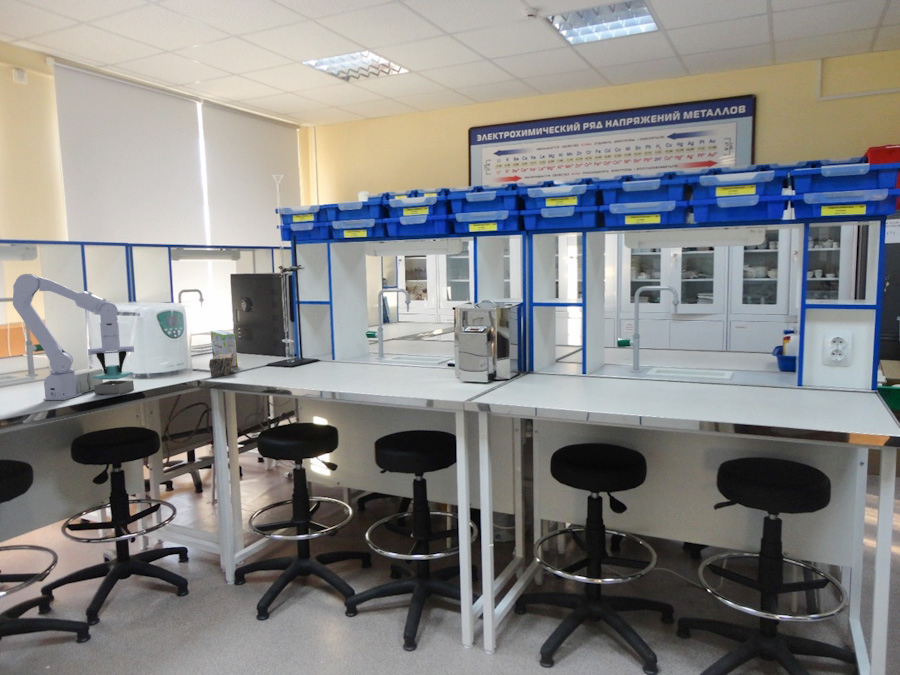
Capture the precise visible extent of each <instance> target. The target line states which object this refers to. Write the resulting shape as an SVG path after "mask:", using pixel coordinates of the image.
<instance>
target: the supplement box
mask: <svg viewBox="0 0 900 675" xmlns="http://www.w3.org/2000/svg"><path fill="white" fill-rule="evenodd" d="M74 371H75V383H76V393H82V394H83V393H88V392H91V391H95V388H94V385H96V384H100V383H103V382H104V380H99V378H93V376H96V375H100V374H103V368H83V369H78V370H74Z"/></svg>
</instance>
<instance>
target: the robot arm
mask: <svg viewBox="0 0 900 675" xmlns="http://www.w3.org/2000/svg"><path fill="white" fill-rule="evenodd" d="M12 288H13V292H12V293H13V295H12V306H13V307H14V310H16V312H17V313H18V315H19V316H20V318H21V320H22V321H23V322H24V324H25V325H26V326H27V328H28V329H29V331H30V332H31V333H32V335H33V336H34V338H35V339H36V341H37V342H38V344H39V345H40V346H41V348H42V349H43V351H44V352H45V355H46V357H47V358H48V360H49V366H50V368H51V370H50V372H49V375H47V376H46V377H45V379H44V381H43V386H44V395H45V397H44V398H43V399H42V400H43V401H65V400H70V399H72V398H74V397H79V396H82V395H83V393H76V383H75V371H76V370H75V369H74V368H72V365H73V362H74V359H73V356H72V354H70V353H69V352H67V351H66V350H64V348H63V346H61V345H60V344H59V343H58V341H57V340H56V338H55V336H54V335H53V334H52V332H51V331H50V329H49V328H48V327H47V325H46V323H45V322H44V321H43V319H42V317H41V316H40V314H39V313H38V311H37V310H36V309H35V308H34V307H33V304H32V302H33V300H34V297H35V294H36V293H38V291H39V292H52V293H55V294H57V295H59V296H62V297H64V298H68V299H69V300H72V301H74V302H75V305H76V306H77V307H78V308H81V309H84V310H86V311H88V312H91V313H93V314H98V315H99V316H100V323H99V326H100V338H101V347H98V348H97V347H96V348H87V354H88V356H92V355H96V357H97V359H98V361H99V363H100V364H101V366H102V371H103V372H104V374H107V372H106V366H107V365H106V357H105V356H106V355H105V354H118V365H119V372H120V373H122V372H123V366H124V362H125V360H126V357H127V353H129V352H130V353H132V352H133V353H134V352H135V347H134V345H127V346H125V345H124V346H123V345H121V344H120V329H119V322H118V307H117V306H116V304H115V303H114V302H112V301H107V299H106V298H101V297H99V296H97V295H95V294H93V292H92V291H85V290H84V291H81V292H78V291H76V290H73V289H71V288H69V287H68V286H65V285H62V284H61V283H58V282H56V281H55V280H52V279H49V278H46V277H42V276H38V275H36V274H33V273H23V274H21V275H19V276H18V277H17V278H16V279H15V281H14V283H13V286H12Z"/></svg>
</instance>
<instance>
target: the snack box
mask: <svg viewBox="0 0 900 675" xmlns="http://www.w3.org/2000/svg"><path fill="white" fill-rule="evenodd" d="M236 338H237V337H236V333H233V332H229V331H227V330H223V329H218V330H217V329H216V330H210V341H211V342H210V343H211V352H212V358H213V357H215V356H218V355H220V354H229V353H233V361H232V366H231V368H235V367H238V354H237V340H236Z"/></svg>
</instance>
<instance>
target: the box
mask: <svg viewBox="0 0 900 675" xmlns="http://www.w3.org/2000/svg"><path fill="white" fill-rule="evenodd" d="M94 388H95V390H94V395H95V394H120V395H123V394H126V393H129V392H131V390H132V391H134V390H135V384H134V380H133V379H132V380H131V379H130V380H129V379H128V380H127V379H126V380H122V379H109V380H106V381H103V383H100V384H96V385H94ZM128 391H129V392H128Z"/></svg>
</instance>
